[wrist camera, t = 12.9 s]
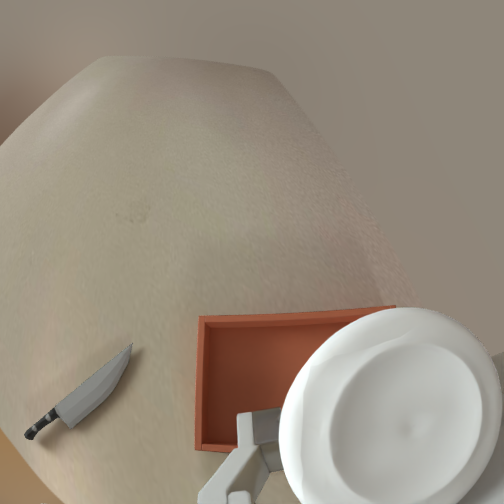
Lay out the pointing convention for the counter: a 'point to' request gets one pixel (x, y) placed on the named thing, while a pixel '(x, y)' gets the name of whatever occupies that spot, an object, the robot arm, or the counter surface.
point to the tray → (254, 365)
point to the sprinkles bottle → (392, 413)
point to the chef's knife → (85, 395)
